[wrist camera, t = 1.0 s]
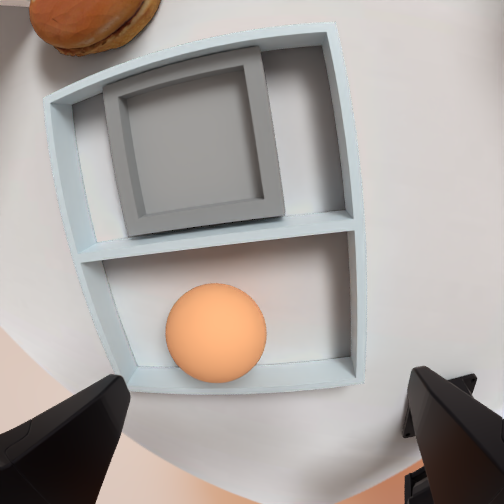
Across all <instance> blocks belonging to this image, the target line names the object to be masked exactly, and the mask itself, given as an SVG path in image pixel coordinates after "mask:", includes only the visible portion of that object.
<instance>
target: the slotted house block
mask: <svg viewBox="0 0 504 504" xmlns="http://www.w3.org/2000/svg"><path fill="white" fill-rule="evenodd" d="M0 5H5V6H23V7H29V6H30V0H0Z"/></svg>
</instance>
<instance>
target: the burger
mask: <svg viewBox="0 0 504 504" xmlns="http://www.w3.org/2000/svg"><path fill="white" fill-rule="evenodd" d="M160 1H161V0H30V6H29V13H30V21H31V24H32V26H33V28H34V30H35V32H36V33H37V35H38V36H39V37H40V38H42V39H43V40H44V41H45V42H46V43H48V44H51V45H53V46H54V47H55V49H57V50H58V51H59V52H60V53H61V54H64V55H71V56H78V57H79V56H80V57H81V56H85V55H87V54H91V53H98V52H102V51H106V50H109V49H112V48H118V47H121V46H123V45H125V44H127V43H128V42H130V41H131V40H132V39H133V38H134V37H135V36H136V35H137V34H138V33H139V32H140V31H141V30H142V29H143V28H144V27H145V26H146V25H147V24H148V22H149V21H150V20H151V19H152V17H153V16H154V13H155V12H156V11H157V8H158V6H159V3H160Z"/></svg>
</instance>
